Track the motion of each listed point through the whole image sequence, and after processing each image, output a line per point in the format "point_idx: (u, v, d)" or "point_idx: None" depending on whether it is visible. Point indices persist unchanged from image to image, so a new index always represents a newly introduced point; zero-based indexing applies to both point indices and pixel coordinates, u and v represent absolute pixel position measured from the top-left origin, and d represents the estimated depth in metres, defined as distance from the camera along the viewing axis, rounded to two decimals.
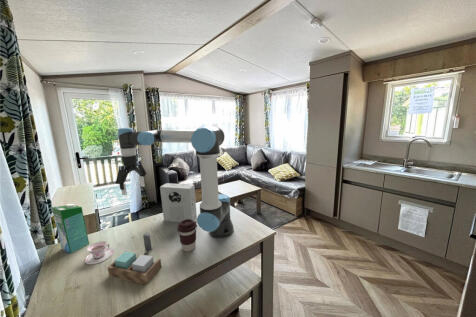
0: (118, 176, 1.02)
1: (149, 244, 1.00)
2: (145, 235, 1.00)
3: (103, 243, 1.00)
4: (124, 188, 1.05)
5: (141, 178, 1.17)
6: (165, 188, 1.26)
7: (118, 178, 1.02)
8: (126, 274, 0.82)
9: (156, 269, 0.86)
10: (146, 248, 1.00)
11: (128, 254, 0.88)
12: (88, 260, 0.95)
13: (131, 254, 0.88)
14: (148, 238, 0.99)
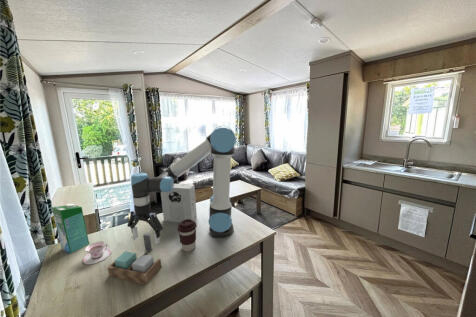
0: None
1: (149, 244, 1.00)
2: (145, 235, 1.00)
3: (101, 243, 1.00)
4: (133, 233, 1.01)
5: None
6: None
7: None
8: (126, 274, 0.82)
9: (156, 269, 0.86)
10: (146, 248, 1.00)
11: (128, 254, 0.88)
12: (86, 260, 0.95)
13: (131, 254, 0.88)
14: (148, 238, 0.99)
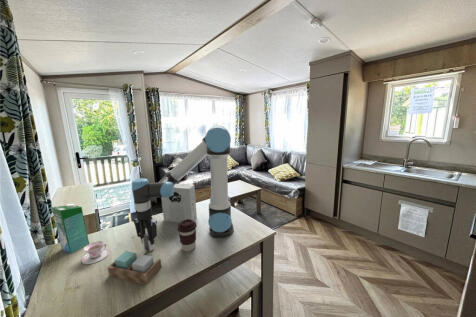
0: None
1: None
2: (145, 235, 1.00)
3: (100, 243, 1.00)
4: (143, 243, 1.01)
5: None
6: None
7: None
8: (126, 274, 0.82)
9: (156, 269, 0.86)
10: (146, 248, 1.00)
11: (128, 254, 0.89)
12: (85, 260, 0.95)
13: (131, 254, 0.89)
14: (148, 238, 1.00)
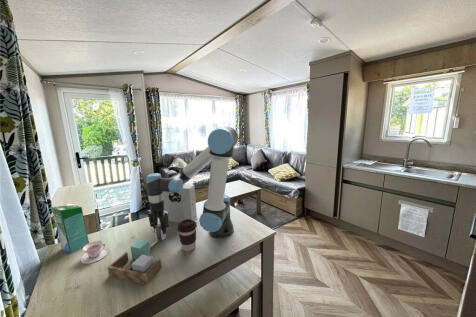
0: None
1: (160, 234, 1.09)
2: (157, 225, 1.08)
3: (99, 242, 1.00)
4: (155, 232, 1.10)
5: None
6: None
7: None
8: (126, 274, 0.82)
9: (156, 269, 0.86)
10: (158, 237, 1.09)
11: (142, 242, 0.97)
12: (84, 259, 0.96)
13: (145, 242, 0.97)
14: (160, 228, 1.08)
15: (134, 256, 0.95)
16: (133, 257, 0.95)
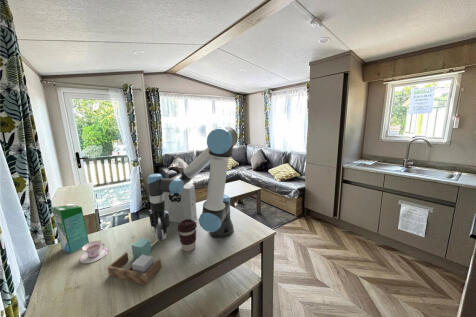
0: None
1: (161, 233, 1.10)
2: (158, 225, 1.09)
3: (98, 242, 1.01)
4: (156, 232, 1.11)
5: None
6: None
7: None
8: (126, 274, 0.82)
9: (156, 269, 0.86)
10: (158, 237, 1.09)
11: (143, 241, 0.98)
12: (83, 259, 0.96)
13: (146, 241, 0.98)
14: (160, 227, 1.09)
15: (135, 254, 0.95)
16: (134, 256, 0.96)
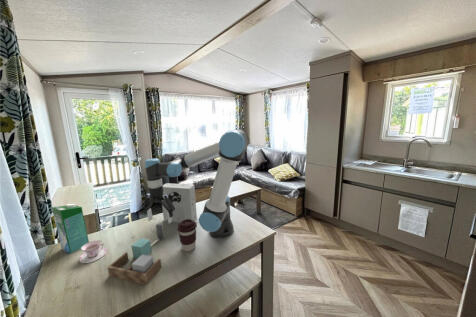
0: None
1: (161, 233, 1.10)
2: (158, 225, 1.09)
3: (97, 242, 1.01)
4: (147, 214, 1.10)
5: None
6: (165, 188, 1.26)
7: None
8: (126, 274, 0.82)
9: (156, 269, 0.86)
10: (158, 237, 1.10)
11: (143, 241, 0.98)
12: (82, 259, 0.96)
13: (146, 241, 0.98)
14: (160, 227, 1.09)
15: (135, 254, 0.95)
16: (134, 256, 0.96)
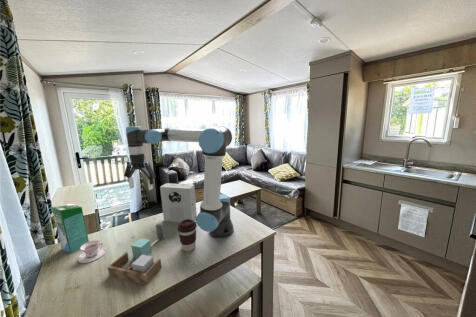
0: None
1: (161, 233, 1.10)
2: (158, 225, 1.09)
3: (96, 242, 1.01)
4: (129, 182, 1.13)
5: None
6: (165, 188, 1.26)
7: None
8: (126, 274, 0.82)
9: (156, 269, 0.86)
10: (158, 237, 1.10)
11: (143, 241, 0.98)
12: (81, 259, 0.96)
13: (146, 241, 0.98)
14: (160, 227, 1.09)
15: (135, 254, 0.95)
16: (134, 256, 0.96)
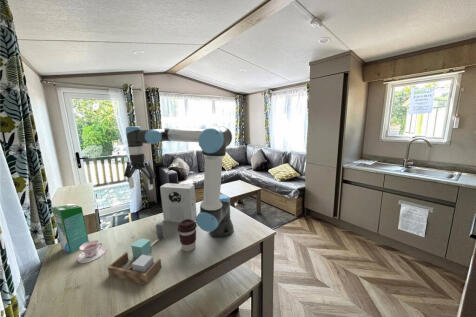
0: None
1: (161, 233, 1.10)
2: (158, 225, 1.09)
3: (96, 242, 1.01)
4: (129, 182, 1.13)
5: None
6: (165, 188, 1.26)
7: None
8: (126, 274, 0.82)
9: (156, 269, 0.86)
10: (158, 237, 1.10)
11: (143, 241, 0.98)
12: (80, 258, 0.96)
13: (146, 241, 0.98)
14: (160, 227, 1.09)
15: (135, 254, 0.95)
16: (134, 256, 0.96)
